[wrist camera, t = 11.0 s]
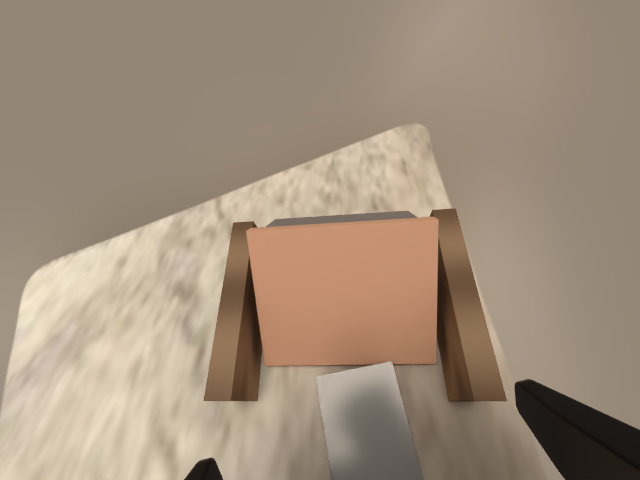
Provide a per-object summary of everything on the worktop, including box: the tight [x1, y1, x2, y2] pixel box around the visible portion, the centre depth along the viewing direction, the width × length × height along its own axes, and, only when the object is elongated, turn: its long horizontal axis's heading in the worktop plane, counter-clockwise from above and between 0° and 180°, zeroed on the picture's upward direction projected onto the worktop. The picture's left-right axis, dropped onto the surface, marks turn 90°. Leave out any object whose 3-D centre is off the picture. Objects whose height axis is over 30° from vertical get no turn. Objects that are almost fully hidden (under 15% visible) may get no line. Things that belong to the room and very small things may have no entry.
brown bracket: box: [204, 209, 507, 401], centre depth 21 cm, size 12×16×5 cm
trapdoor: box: [246, 211, 439, 366], centre depth 21 cm, size 10×12×4 cm
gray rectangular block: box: [315, 361, 423, 480], centre depth 16 cm, size 4×4×11 cm
